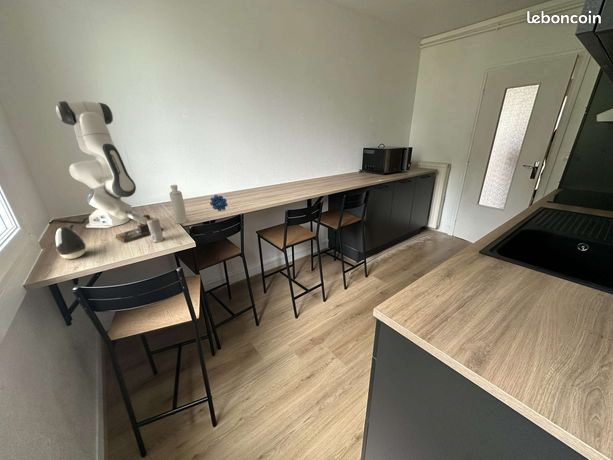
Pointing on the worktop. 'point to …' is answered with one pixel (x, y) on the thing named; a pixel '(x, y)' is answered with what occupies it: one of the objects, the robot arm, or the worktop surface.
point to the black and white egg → (69, 243)
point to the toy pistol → (132, 235)
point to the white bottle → (178, 205)
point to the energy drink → (155, 229)
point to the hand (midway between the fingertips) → (147, 222)
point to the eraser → (144, 225)
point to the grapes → (218, 203)
